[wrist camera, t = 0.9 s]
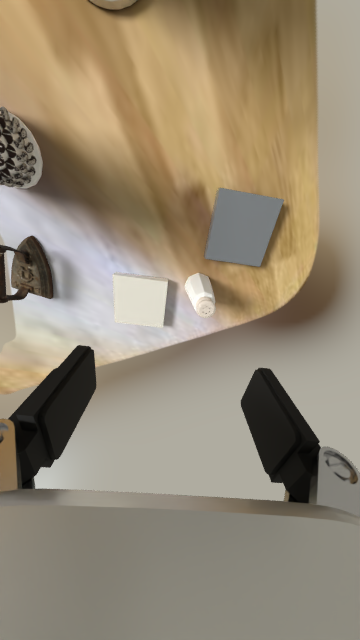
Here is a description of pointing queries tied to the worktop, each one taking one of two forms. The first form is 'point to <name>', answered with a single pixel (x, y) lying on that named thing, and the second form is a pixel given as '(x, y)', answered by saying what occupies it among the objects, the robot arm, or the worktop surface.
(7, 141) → the decorative candle
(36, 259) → the clothes iron
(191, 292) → the salt shaker
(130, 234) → the worktop surface
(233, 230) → the plate
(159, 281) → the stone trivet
